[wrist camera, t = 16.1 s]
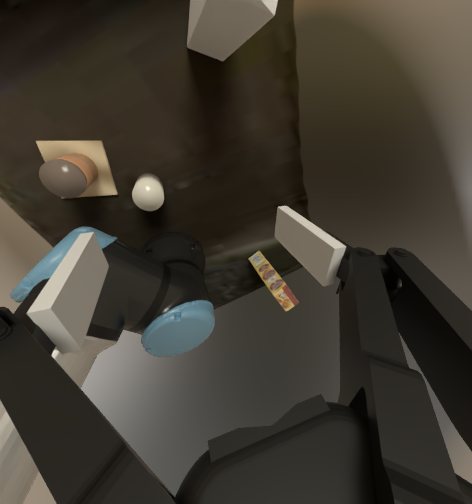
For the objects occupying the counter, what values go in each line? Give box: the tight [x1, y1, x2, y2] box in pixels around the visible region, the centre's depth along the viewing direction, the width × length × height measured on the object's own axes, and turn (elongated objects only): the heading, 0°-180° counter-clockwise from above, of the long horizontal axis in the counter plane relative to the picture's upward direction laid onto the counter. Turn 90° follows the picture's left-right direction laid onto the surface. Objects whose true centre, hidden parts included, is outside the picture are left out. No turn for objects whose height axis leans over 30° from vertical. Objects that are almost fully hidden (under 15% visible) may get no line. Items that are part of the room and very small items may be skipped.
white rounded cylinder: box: [132, 173, 164, 211], centre depth 38 cm, size 5×5×7 cm
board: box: [36, 141, 118, 198], centre depth 35 cm, size 9×9×1 cm
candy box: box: [248, 251, 298, 311], centre depth 54 cm, size 9×4×15 cm, turn 33°
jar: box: [39, 153, 98, 198], centre depth 32 cm, size 5×5×8 cm
